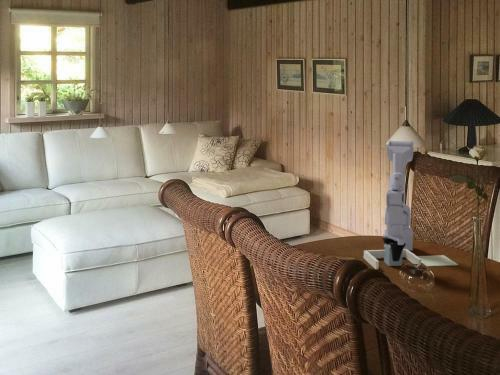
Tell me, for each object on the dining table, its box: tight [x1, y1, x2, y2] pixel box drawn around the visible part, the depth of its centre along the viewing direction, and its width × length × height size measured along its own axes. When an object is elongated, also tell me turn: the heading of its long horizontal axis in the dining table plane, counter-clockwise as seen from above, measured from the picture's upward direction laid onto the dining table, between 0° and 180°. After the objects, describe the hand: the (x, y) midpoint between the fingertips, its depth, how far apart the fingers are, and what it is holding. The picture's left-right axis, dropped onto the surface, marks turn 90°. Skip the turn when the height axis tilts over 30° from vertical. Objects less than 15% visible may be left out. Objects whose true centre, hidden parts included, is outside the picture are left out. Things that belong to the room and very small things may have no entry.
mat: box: [416, 254, 459, 268], centre depth 228 cm, size 12×12×1 cm
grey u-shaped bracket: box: [363, 249, 422, 270], centre depth 226 cm, size 17×14×3 cm
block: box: [383, 243, 403, 267], centre depth 224 cm, size 5×5×7 cm
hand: (393, 258), depth 224 cm, fingers closed on block, 5 cm apart
